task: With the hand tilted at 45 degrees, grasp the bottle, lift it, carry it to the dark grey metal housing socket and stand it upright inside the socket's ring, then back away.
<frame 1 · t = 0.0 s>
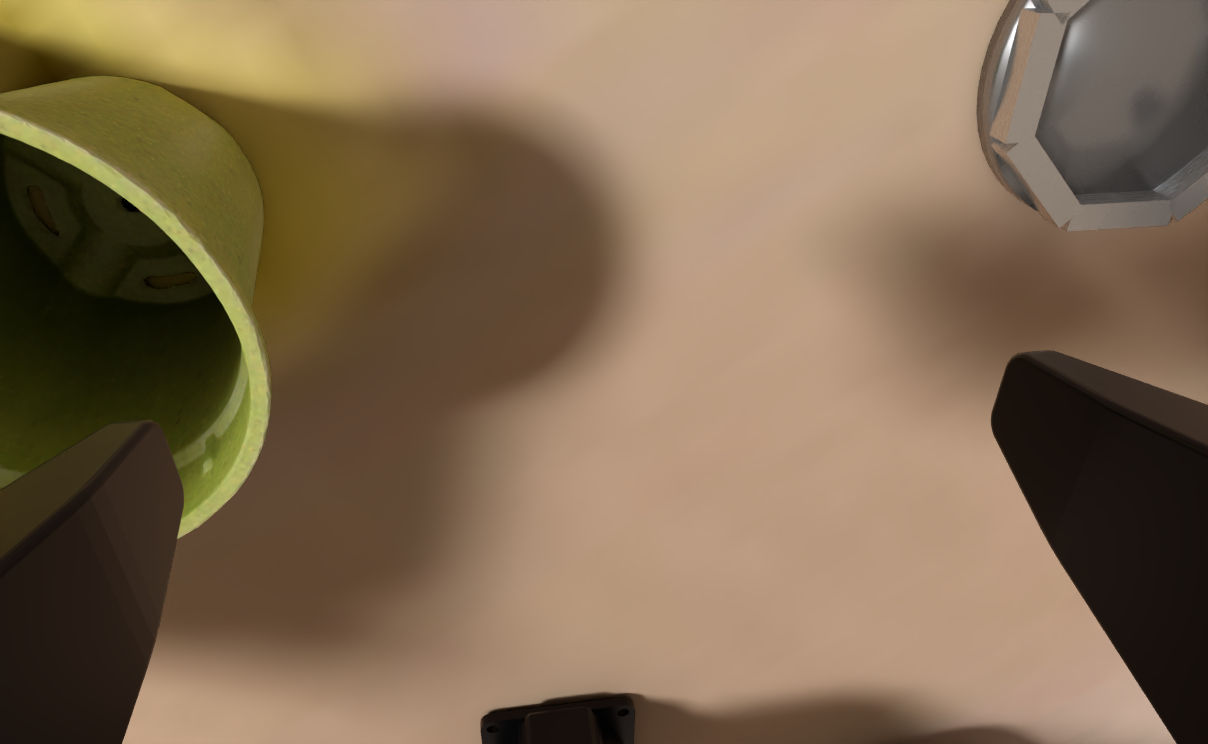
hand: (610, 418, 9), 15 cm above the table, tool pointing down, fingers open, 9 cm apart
housing: (1131, 63, 23), on the table
plant pot: (146, 192, 21), on the table
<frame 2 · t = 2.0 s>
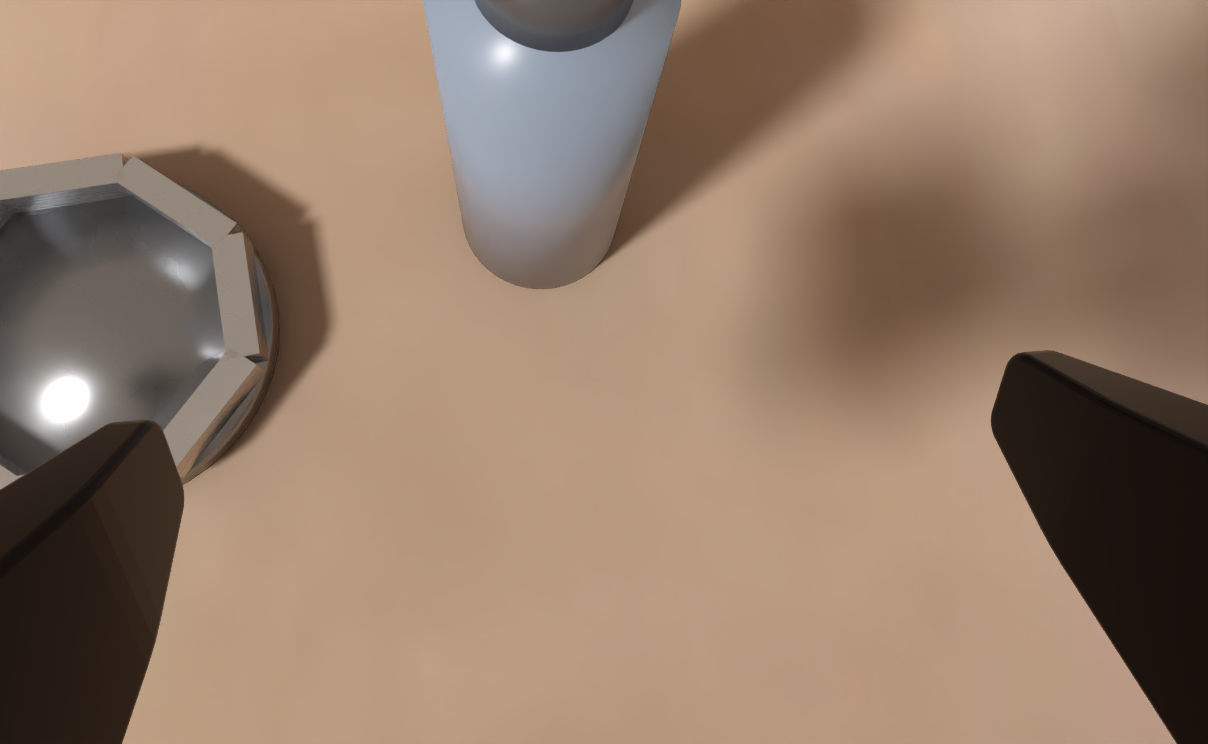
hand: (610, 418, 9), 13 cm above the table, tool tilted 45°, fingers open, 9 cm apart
housing: (102, 339, 21), on the table
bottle: (539, 216, 23), on the table
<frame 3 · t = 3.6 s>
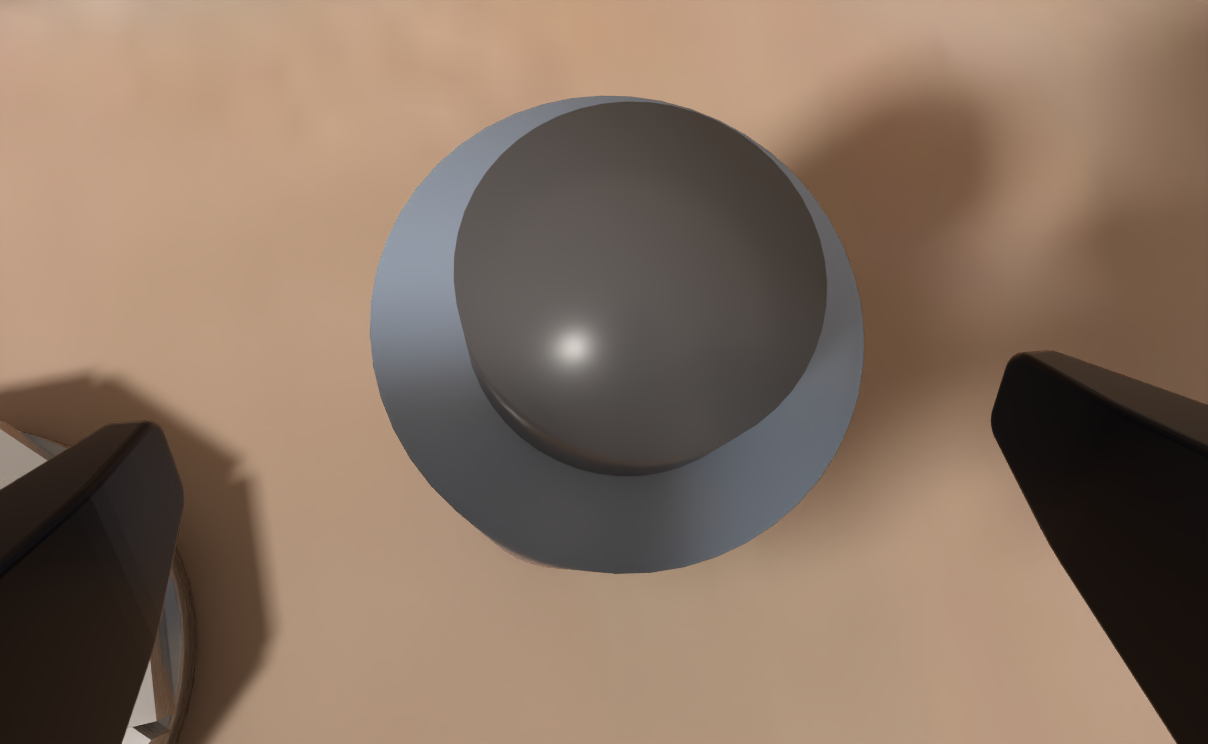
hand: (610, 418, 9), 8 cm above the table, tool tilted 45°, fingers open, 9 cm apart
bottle: (564, 459, 17), on the table
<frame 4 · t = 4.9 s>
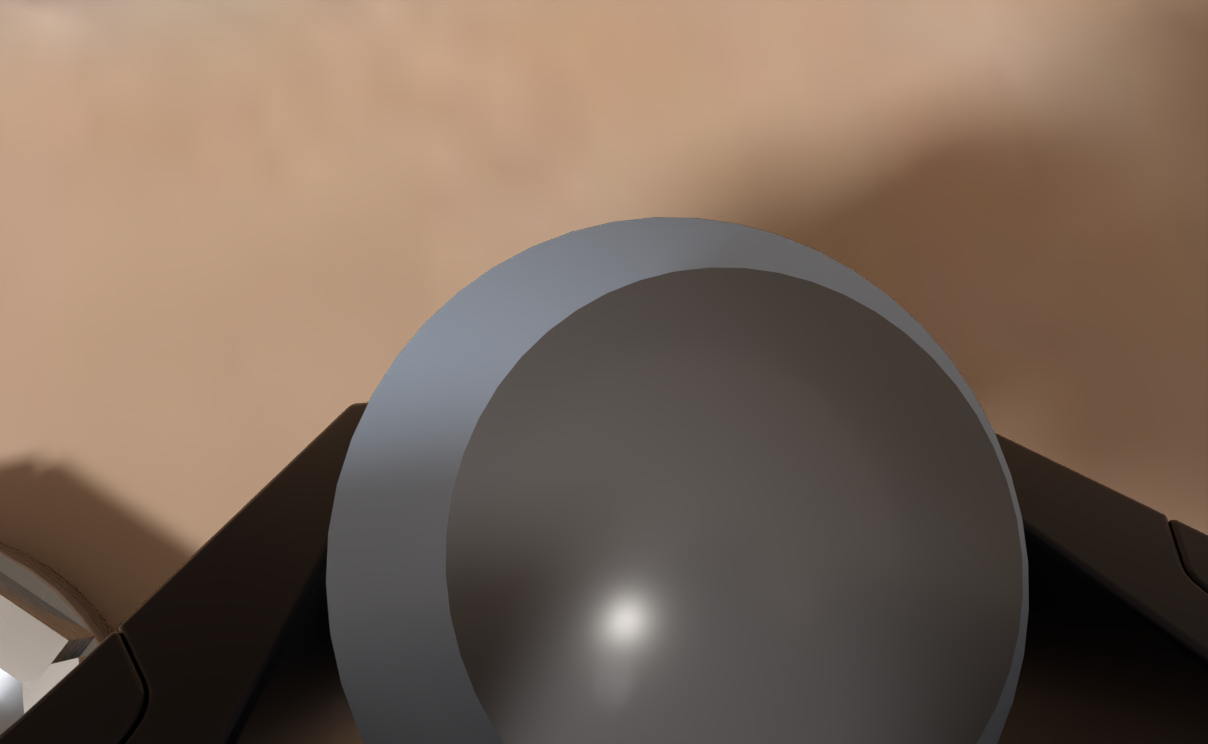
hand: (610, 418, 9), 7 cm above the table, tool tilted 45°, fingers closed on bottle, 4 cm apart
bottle: (578, 554, 15), on the table, touching gripper
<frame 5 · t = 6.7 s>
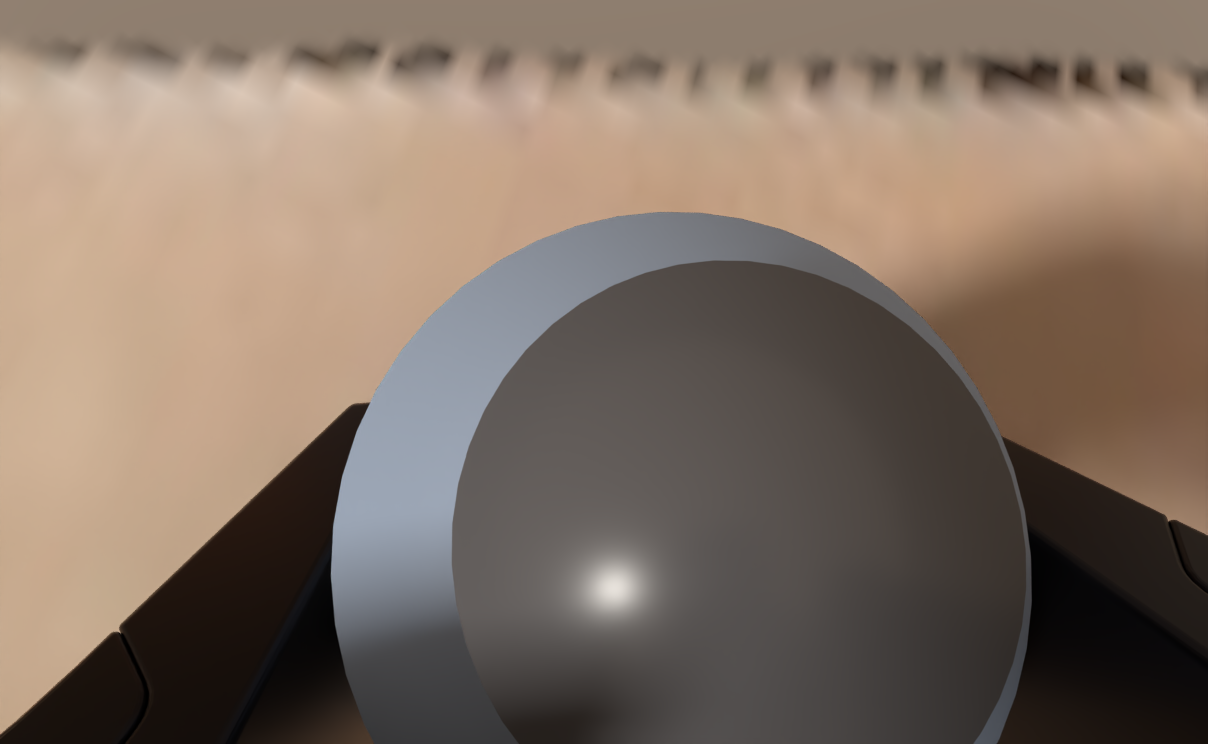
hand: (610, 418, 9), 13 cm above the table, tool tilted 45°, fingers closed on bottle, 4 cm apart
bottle: (580, 552, 15), point 7 cm above the table, touching gripper
when the fingers open (8 cm above the table, at t = 8.6 s): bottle stays where it is, resting on housing.
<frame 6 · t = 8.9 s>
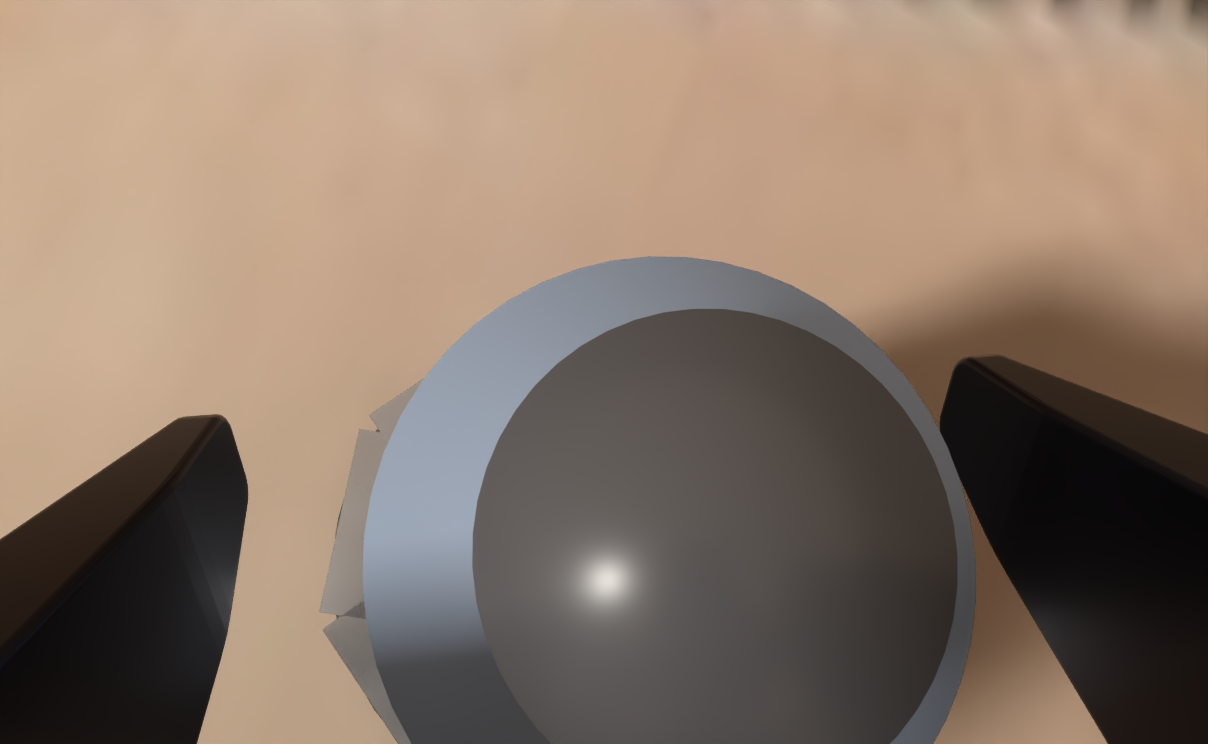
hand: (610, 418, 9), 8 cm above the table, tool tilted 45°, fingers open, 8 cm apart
housing: (573, 554, 16), on the table
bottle: (577, 557, 15), point 1 cm above the table, touching housing
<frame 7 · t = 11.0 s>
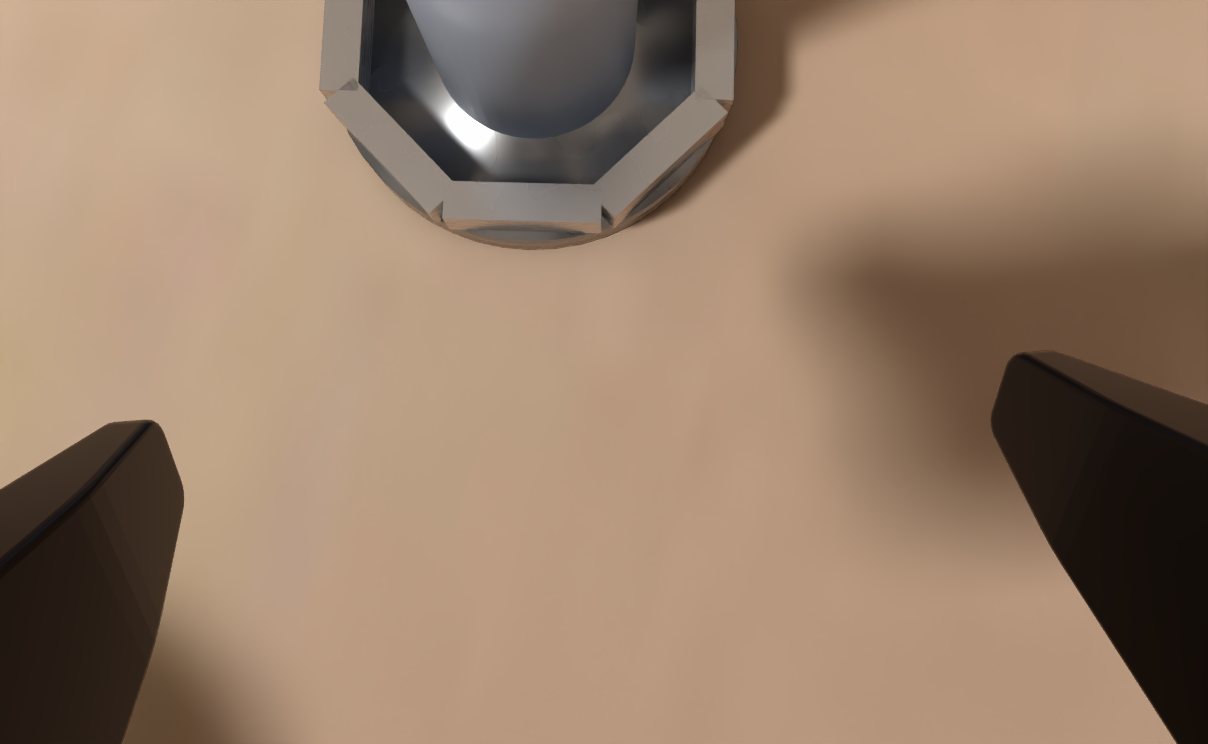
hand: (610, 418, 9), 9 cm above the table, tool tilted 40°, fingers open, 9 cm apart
housing: (535, 57, 19), on the table
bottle: (534, 41, 18), point 1 cm above the table, touching housing
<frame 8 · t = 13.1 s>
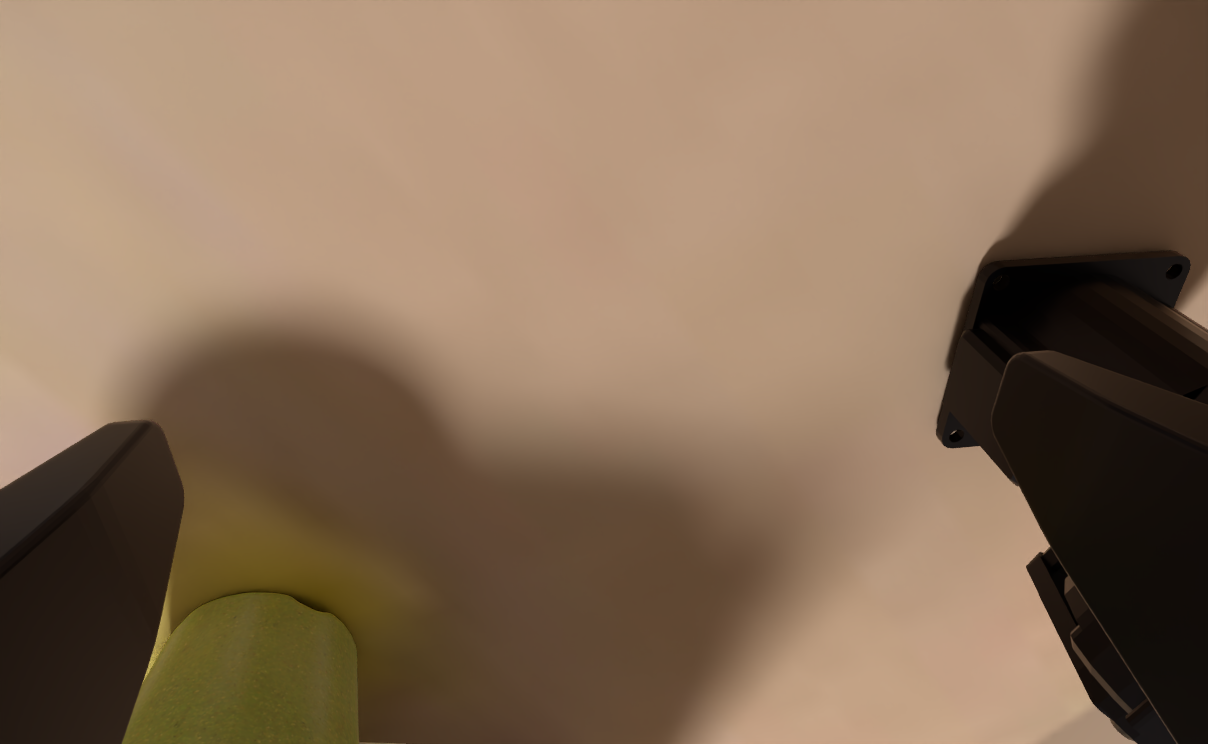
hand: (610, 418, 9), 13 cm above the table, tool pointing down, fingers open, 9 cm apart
plant pot: (266, 644, 28), on the table
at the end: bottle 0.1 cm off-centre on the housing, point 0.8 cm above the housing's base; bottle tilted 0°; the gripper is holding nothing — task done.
